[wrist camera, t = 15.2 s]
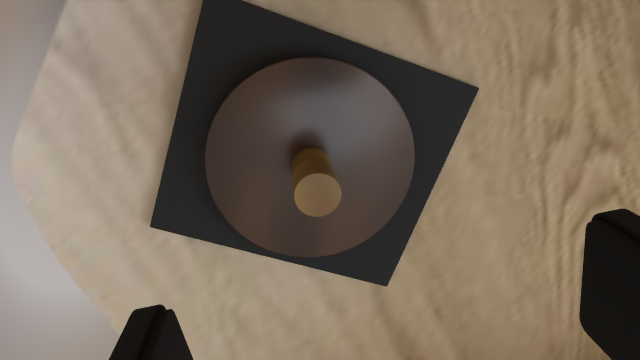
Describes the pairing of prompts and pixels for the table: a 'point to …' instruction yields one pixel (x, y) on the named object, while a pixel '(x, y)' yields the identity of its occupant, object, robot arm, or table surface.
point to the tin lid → (309, 156)
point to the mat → (270, 47)
